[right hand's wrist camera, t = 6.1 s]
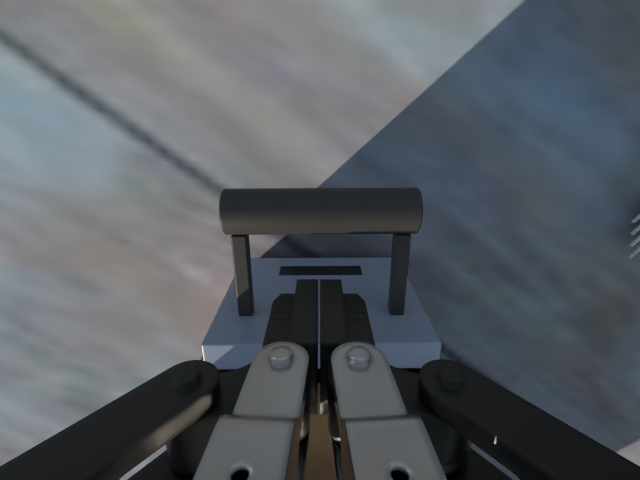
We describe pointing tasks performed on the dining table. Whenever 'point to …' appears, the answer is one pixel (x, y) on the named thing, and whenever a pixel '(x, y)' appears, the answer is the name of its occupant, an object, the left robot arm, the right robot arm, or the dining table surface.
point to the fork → (635, 239)
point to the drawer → (321, 268)
